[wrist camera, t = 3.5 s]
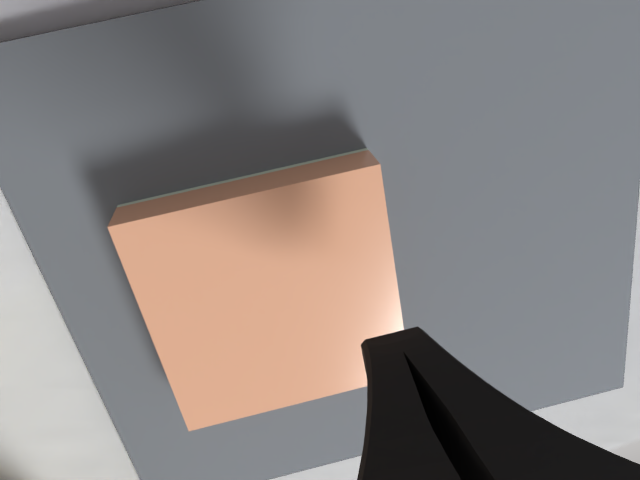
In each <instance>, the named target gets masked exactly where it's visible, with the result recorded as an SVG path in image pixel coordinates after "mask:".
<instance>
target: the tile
mask: <svg viewBox="0 0 640 480" xmlns="http://www.w3.org/2000/svg"><path fill="white" fill-rule="evenodd" d="M107 228H108V230H109V233H110V235H111V238H112V240H113V243H114V245H115V248H116V250H117V253H118V255H119V258H120V260H121V263H122V265H123V268H124V270H125V273H126V275H127V278H128V280H129V283H130V285H131V288H132V290H133V293H134V295H135V298H136V300H137V303H138V305H139V308H140V310H141V313H142V315H143V318H144V320H145V323H146V325H147V328H148V330H149V333H150V336H151V338H152V341H153V343H154V346H155V348H156V351H157V353H158V356H159V358H160V361H161V363H162V366H163V368H164V371H165V373H166V376H167V378H168V381H169V383H170V386H171V388H172V391H173V393H174V396H175V398H176V401H177V403H178V406H179V408H180V411H181V413H182V416H183V418H184V421H185V423H186V426H187V428H188V431H192V430H196V429H200V428H204V427H208V426H212V425H216V424H220V423H224V422H228V421H232V420H236V419H240V418H244V417H248V416H252V415H256V414H259V413H263V412H267V411H271V410H275V409H279V408H283V407H287V406H291V405H295V404H299V403H303V402H307V401H311V400H315V399H319V398H323V397H326V396H330V395H334V394H338V393H342V392H346V391H350V390H354V389H358V388H362V387H366V386H367V376H366V371H365V365H364V360H363V355H362V349H361V344H362V343H363V341H364V340H365V339H369V338H373V337H377V336H381V335H385V334H389V333H393V332H397V331H401V330H404V326H403V319H402V312H401V305H400V298H399V291H398V284H397V277H396V270H395V263H394V256H393V249H392V242H391V235H390V228H389V221H388V214H387V207H386V200H385V193H384V186H383V179H382V172H381V165H380V163H379V162H378V161H377V159H376V158H375V157H374V156H373V155H372V153H371V152H370V151H369V150H368V149H367V148H364V149H360V150H356V151H351V152H347V153H342V154H338V155H334V156H329V157H325V158H321V159H316V160H312V161H307V162H303V163H299V164H294V165H290V166H286V167H281V168H277V169H273V170H268V171H264V172H259V173H255V174H251V175H246V176H242V177H238V178H233V179H229V180H224V181H220V182H216V183H211V184H207V185H203V186H198V187H194V188H190V189H185V190H181V191H176V192H172V193H168V194H163V195H159V196H155V197H150V198H146V199H141V200H137V201H133V202H128V203H124V204H120V205H118V206H117V208H116V210H115V212H114V214H113V216H112V218H111V220H110V222H109V225H108V227H107Z"/></svg>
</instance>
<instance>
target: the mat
mask: <svg viewBox="0 0 640 480" xmlns="http://www.w3.org/2000/svg"><path fill="white" fill-rule="evenodd" d="M364 148H367V149H368V150H369V151H370V152H371V153H372V155H373V156H374V157H375V158H376V159H377V161H378V162H379V163H380V165H381V172H382V179H383V186H384V193H385V200H386V207H387V214H388V221H389V228H390V235H391V242H392V249H393V256H394V263H395V270H396V277H397V284H398V291H399V298H400V305H401V312H402V319H403V326H404V330H405V329H409V328H413V327H417V326H418V327H419V328H421V329H423V330H424V331H425V332H426V333H427V334H428V335H429V336H430V337H431V338H433V339H434V340H435V341H436V342H437V343H438V344H439V345H440V346H442V347H443V348H444V349H445V350H446V351H448V352H449V353H450V354H451V355H452V356H454V357H455V358H456V359H457V360H458V361H460V362H461V363H462V364H463V365H465V366H466V367H467V368H469V369H470V370H471V371H473V372H474V373H475V374H477V375H478V376H479V377H481V378H482V379H483V380H484V381H486V382H487V383H489V384H490V385H491V386H493V387H494V388H496V389H497V390H498V391H500V392H501V393H503V394H504V395H506V396H507V397H509V398H510V399H512V400H513V401H515V402H516V403H518V404H520V405H521V406H523V407H524V408H526V409H528V410H529V411H534V410H538V409H542V408H545V407H549V406H553V405H557V404H561V403H565V402H568V401H572V400H576V399H580V398H584V397H588V396H591V395H595V394H599V393H603V392H607V391H611V390H614V389H618V388H622V387H623V384H624V372H625V359H626V347H627V335H628V322H629V310H630V298H631V286H632V273H633V261H634V249H635V236H636V224H637V212H638V199H639V187H640V0H200V1H195V2H190V3H185V4H181V5H176V6H171V7H166V8H162V9H157V10H152V11H147V12H143V13H138V14H133V15H128V16H124V17H119V18H114V19H109V20H105V21H100V22H95V23H90V24H85V25H81V26H76V27H71V28H66V29H62V30H57V31H52V32H47V33H43V34H38V35H33V36H28V37H24V38H19V39H14V40H9V41H5V42H0V187H1V189H2V191H3V193H4V195H5V198H6V200H7V202H8V204H9V206H10V208H11V210H12V212H13V214H14V216H15V218H16V221H17V223H18V225H19V227H20V229H21V231H22V233H23V235H24V237H25V239H26V241H27V244H28V246H29V248H30V250H31V252H32V254H33V256H34V258H35V260H36V262H37V264H38V267H39V269H40V271H41V273H42V275H43V277H44V279H45V281H46V283H47V285H48V287H49V290H50V292H51V294H52V296H53V298H54V300H55V302H56V304H57V306H58V308H59V310H60V313H61V315H62V317H63V319H64V321H65V323H66V325H67V327H68V329H69V331H70V333H71V336H72V338H73V340H74V342H75V344H76V346H77V348H78V350H79V352H80V354H81V356H82V359H83V361H84V363H85V365H86V367H87V369H88V371H89V373H90V375H91V377H92V379H93V382H94V384H95V386H96V388H97V390H98V392H99V394H100V396H101V398H102V400H103V402H104V405H105V407H106V409H107V411H108V413H109V415H110V417H111V419H112V421H113V423H114V425H115V428H116V430H117V432H118V434H119V436H120V438H121V440H122V442H123V444H124V446H125V448H126V451H127V453H128V455H129V457H130V459H131V461H132V463H133V465H134V467H135V469H136V471H137V474H138V476H139V478H140V480H269V479H273V478H277V477H281V476H285V475H288V474H292V473H296V472H300V471H304V470H308V469H311V468H315V467H319V466H323V465H327V464H331V463H334V462H338V461H342V460H346V459H350V458H354V457H357V456H361V455H362V451H363V444H364V436H365V425H366V415H367V386H366V387H362V388H358V389H354V390H350V391H346V392H342V393H338V394H334V395H330V396H326V397H323V398H319V399H315V400H311V401H307V402H303V403H299V404H295V405H291V406H287V407H283V408H279V409H275V410H271V411H267V412H263V413H259V414H256V415H252V416H248V417H244V418H240V419H236V420H232V421H228V422H224V423H220V424H216V425H212V426H208V427H204V428H200V429H196V430H192V431H188V428H187V426H186V423H185V421H184V418H183V416H182V413H181V411H180V408H179V406H178V403H177V401H176V398H175V396H174V393H173V391H172V388H171V386H170V383H169V381H168V378H167V376H166V373H165V371H164V368H163V366H162V363H161V361H160V358H159V356H158V353H157V351H156V348H155V346H154V343H153V341H152V338H151V336H150V333H149V330H148V328H147V325H146V323H145V320H144V318H143V315H142V313H141V310H140V308H139V305H138V303H137V300H136V298H135V295H134V293H133V290H132V288H131V285H130V283H129V280H128V278H127V275H126V273H125V270H124V268H123V265H122V263H121V260H120V258H119V255H118V253H117V250H116V248H115V245H114V243H113V240H112V238H111V235H110V233H109V230H108V228H107V227H108V225H109V222H110V220H111V218H112V216H113V214H114V212H115V210H116V208H117V206H118V205H120V204H124V203H128V202H133V201H137V200H141V199H146V198H150V197H155V196H159V195H163V194H168V193H172V192H176V191H181V190H185V189H190V188H194V187H198V186H203V185H207V184H211V183H216V182H220V181H224V180H229V179H233V178H238V177H242V176H246V175H251V174H255V173H259V172H264V171H268V170H273V169H277V168H281V167H286V166H290V165H294V164H299V163H303V162H307V161H312V160H316V159H321V158H325V157H329V156H334V155H338V154H342V153H347V152H351V151H356V150H360V149H364Z"/></svg>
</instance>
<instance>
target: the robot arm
mask: <svg viewBox="0 0 640 480" xmlns="http://www.w3.org/2000/svg"><path fill="white" fill-rule="evenodd" d="M361 349H362V355H363V360H364V365H365V371H366V376H367V415H366V425H365V436H364V444H363V451H362V457H361V463H360V468H359V474H358V479H357V480H640V464H637V463H635V462H632V461H629V460H627V459H625V458H623V457H620V456H618V455H615V454H613V453H611V452H609V451H607V450H605V449H602V448H600V447H598V446H596V445H594V444H592V443H589V442H587V441H585V440H583V439H581V438H579V437H576V436H574V435H572V434H570V433H568V432H566V431H565V430H563V429H561V428H559V427H557V426H555V425H553V424H552V423H550V422H548V421H546V420H545V419H543V418H541V417H539V416H538V415H536V414H534V413H533V412H531V411H529V410H528V409H526V408H524V407H523V406H521V405H520V404H518V403H516V402H515V401H513V400H512V399H510V398H509V397H507V396H506V395H504V394H503V393H501V392H500V391H498V390H497V389H496V388H494V387H493V386H491V385H490V384H489V383H487V382H486V381H484V380H483V379H482V378H481V377H479V376H478V375H477V374H475V373H474V372H473V371H471V370H470V369H469V368H467V367H466V366H465V365H463V364H462V363H461V362H460V361H458V360H457V359H456V358H455V357H454V356H452V355H451V354H450V353H449V352H448V351H446V350H445V349H444V348H443V347H442V346H440V345H439V344H438V343H437V342H436V341H435V340H434V339H433V338H431V337H430V336H429V335H428V334H427V333H426V332H425V331H424V330H423V329H421V328H419V327H418V326H417V327H413V328H409V329H405V330H401V331H397V332H393V333H389V334H385V335H381V336H377V337H373V338H369V339H365V340H364V341H363V343H362V344H361Z"/></svg>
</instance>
